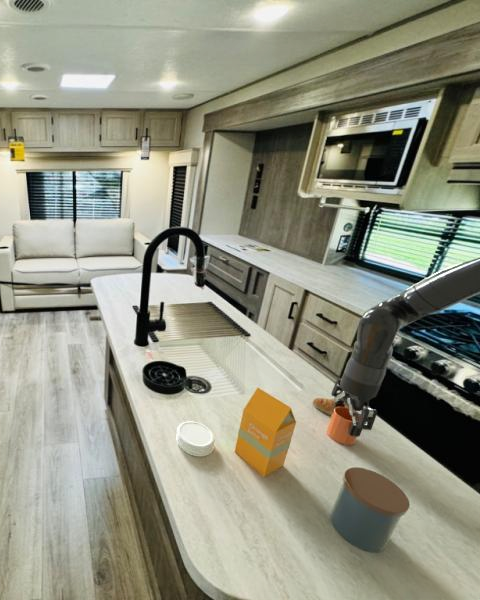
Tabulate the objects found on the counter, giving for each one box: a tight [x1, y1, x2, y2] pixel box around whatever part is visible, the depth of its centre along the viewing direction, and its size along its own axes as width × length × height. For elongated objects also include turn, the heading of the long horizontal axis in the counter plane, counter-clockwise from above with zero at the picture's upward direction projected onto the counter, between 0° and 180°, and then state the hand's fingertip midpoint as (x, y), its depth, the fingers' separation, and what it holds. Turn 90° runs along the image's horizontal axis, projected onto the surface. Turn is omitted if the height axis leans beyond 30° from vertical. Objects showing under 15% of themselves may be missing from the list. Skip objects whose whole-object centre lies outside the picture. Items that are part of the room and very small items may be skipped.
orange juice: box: [234, 387, 297, 478], centre depth 79 cm, size 8×9×20 cm
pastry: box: [312, 397, 348, 417], centre depth 98 cm, size 9×7×4 cm
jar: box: [329, 466, 411, 554], centre depth 64 cm, size 10×10×12 cm
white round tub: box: [175, 420, 216, 457], centre depth 87 cm, size 10×10×4 cm
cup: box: [325, 406, 360, 446], centre depth 88 cm, size 6×6×8 cm
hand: (344, 423), depth 87 cm, fingers open, 8 cm apart
